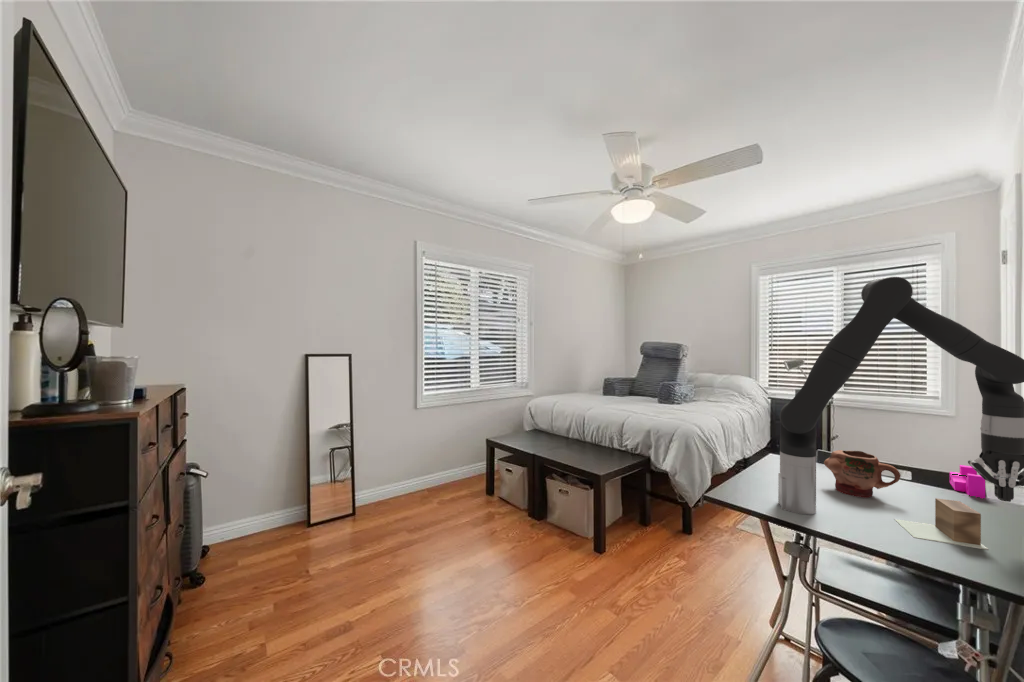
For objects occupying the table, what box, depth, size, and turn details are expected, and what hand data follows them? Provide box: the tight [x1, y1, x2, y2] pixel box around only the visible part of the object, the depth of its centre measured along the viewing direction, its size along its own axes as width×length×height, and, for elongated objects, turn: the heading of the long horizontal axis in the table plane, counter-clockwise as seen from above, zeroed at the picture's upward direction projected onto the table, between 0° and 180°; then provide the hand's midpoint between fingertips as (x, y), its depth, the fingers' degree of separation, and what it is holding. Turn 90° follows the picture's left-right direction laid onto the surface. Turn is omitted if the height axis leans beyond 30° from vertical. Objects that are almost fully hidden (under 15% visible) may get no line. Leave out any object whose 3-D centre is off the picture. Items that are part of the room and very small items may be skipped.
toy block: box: [949, 464, 986, 499], centre depth 141 cm, size 15×6×8 cm, turn 139°
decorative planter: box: [823, 449, 902, 499], centre depth 137 cm, size 20×12×14 cm, turn 42°
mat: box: [893, 518, 989, 551], centre depth 109 cm, size 14×12×1 cm
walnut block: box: [934, 497, 982, 545], centre depth 107 cm, size 5×9×8 cm, turn 155°
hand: (1004, 500), depth 103 cm, fingers closed
